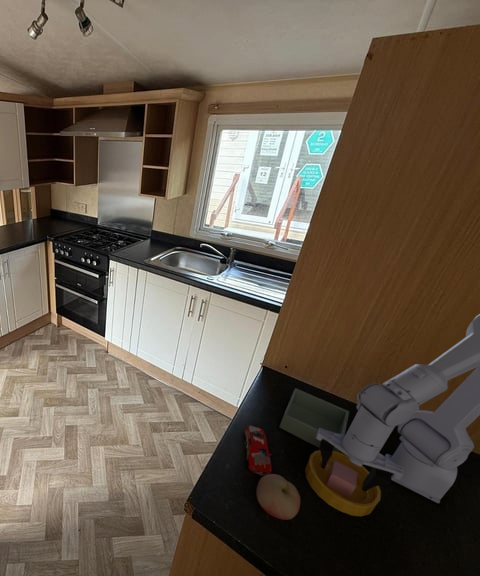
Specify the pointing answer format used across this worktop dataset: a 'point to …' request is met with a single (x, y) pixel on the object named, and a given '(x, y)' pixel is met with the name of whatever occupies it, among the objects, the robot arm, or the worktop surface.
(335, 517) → the worktop surface
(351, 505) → the bowl
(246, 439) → the race car
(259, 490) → the fruit
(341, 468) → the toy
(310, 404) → the bin
